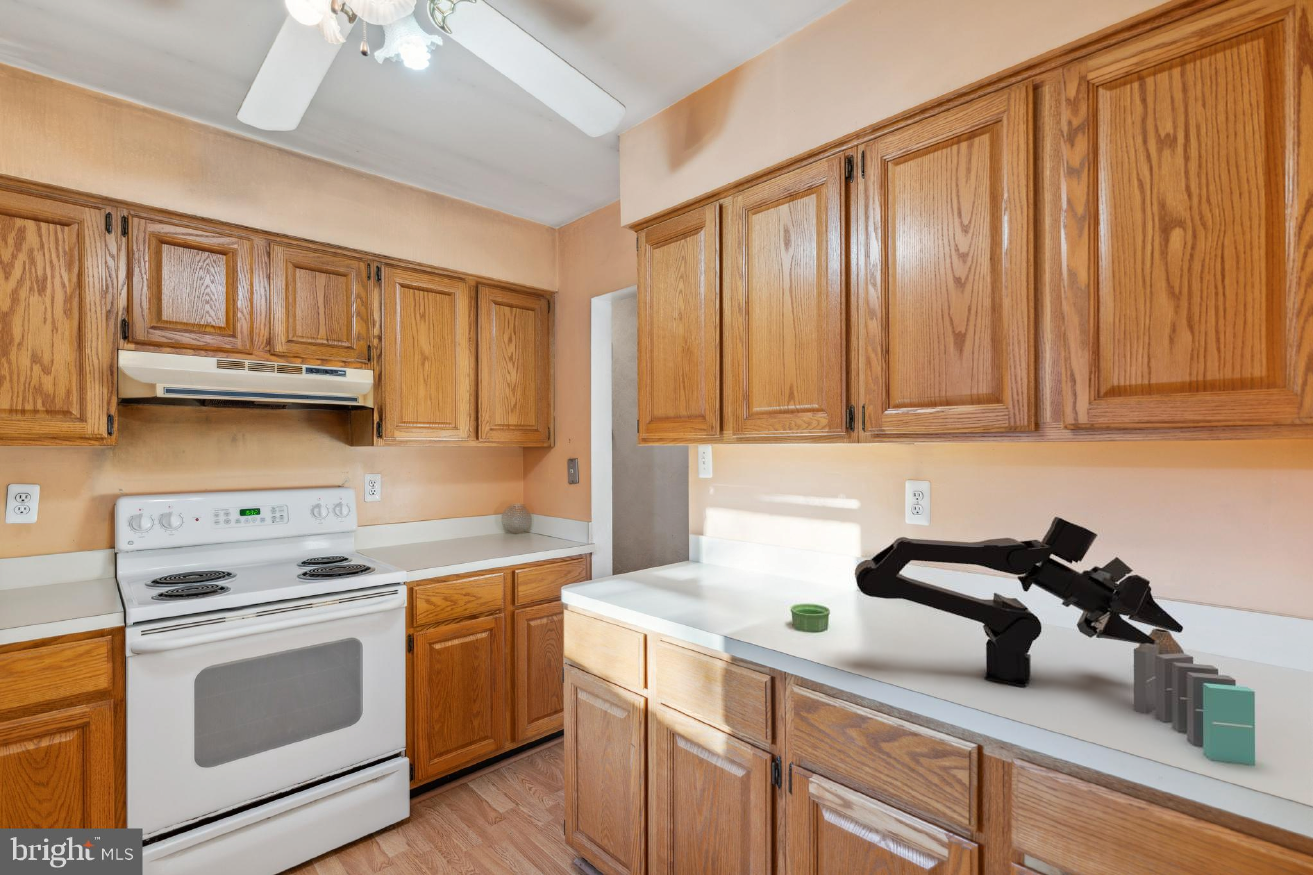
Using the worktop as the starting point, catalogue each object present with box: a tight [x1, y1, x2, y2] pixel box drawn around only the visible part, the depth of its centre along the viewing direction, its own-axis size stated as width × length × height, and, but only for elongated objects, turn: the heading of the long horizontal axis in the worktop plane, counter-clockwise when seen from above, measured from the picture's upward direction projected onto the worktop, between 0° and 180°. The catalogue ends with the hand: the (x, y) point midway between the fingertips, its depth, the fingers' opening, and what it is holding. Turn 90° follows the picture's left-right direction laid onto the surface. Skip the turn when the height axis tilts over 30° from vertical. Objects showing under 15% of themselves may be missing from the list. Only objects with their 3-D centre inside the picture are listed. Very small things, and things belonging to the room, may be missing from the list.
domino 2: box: [1154, 652, 1194, 724], centre depth 95 cm, size 2×5×10 cm, turn 97°
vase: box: [1138, 627, 1185, 655], centre depth 111 cm, size 7×7×9 cm
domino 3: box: [1171, 662, 1219, 734], centre depth 91 cm, size 2×5×10 cm, turn 74°
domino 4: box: [1186, 672, 1237, 748], centre depth 87 cm, size 2×5×10 cm, turn 74°
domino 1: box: [1133, 643, 1159, 715], centre depth 99 cm, size 2×5×10 cm, turn 122°
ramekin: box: [790, 603, 831, 633], centre depth 142 cm, size 9×9×4 cm
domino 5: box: [1202, 683, 1256, 766], centre depth 83 cm, size 2×5×10 cm, turn 74°
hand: (1167, 636), depth 101 cm, fingers open, 9 cm apart
